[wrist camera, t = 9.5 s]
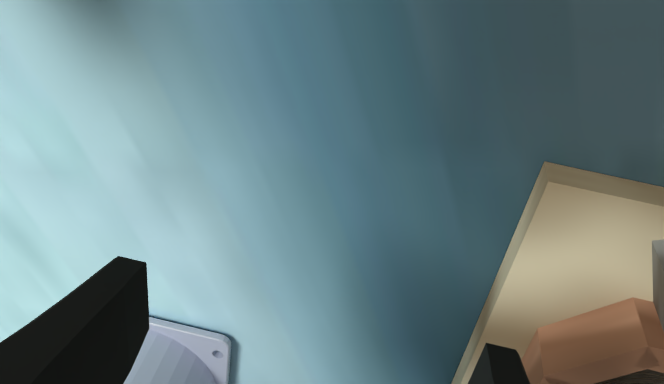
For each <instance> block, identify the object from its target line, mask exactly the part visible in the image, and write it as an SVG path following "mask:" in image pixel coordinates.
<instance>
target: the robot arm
mask: <svg viewBox="0 0 664 384" xmlns="http://www.w3.org/2000/svg"><path fill="white" fill-rule="evenodd" d="M230 355H231V341H230V340H229V338H228V337H226V336H225V335H222V334H219V333H214V332H210V331H206V330H202V329H198V328H194V327H190V326H185V325H181V324H177V323H173V322H169V321H165V320H160V319H156V318H152V317H149V308H148V288H147V268H146V262H141V261H137V260H133V259H129V258H124V257H120V256H118V257H116V258H115V259H113V260H112V261H111V262H109V263H108V264H107V265H106V266H104V267H103V268H102V269H100V270H99V271H98V272H97V273H95V274H94V275H93V276H91V277H90V278H89V279H88V280H86V281H85V282H84V283H82V284H81V285H80V286H79V287H77V288H76V289H75V290H73V291H72V292H71V293H69V294H68V295H67V296H66V297H64V298H63V299H62V300H60V301H59V302H57V303H56V304H55V305H53V306H52V307H51V308H49V309H48V310H46V311H45V312H44V313H42V314H41V315H40V316H38V317H37V318H36V319H34V320H33V321H31V322H30V323H29V324H27V325H26V326H24V327H23V328H21V329H20V330H18V331H17V332H15V333H14V334H12V335H11V336H9V337H8V338H6V339H5V340H3V341H2V342H0V384H228V383H229V369H230ZM468 384H530V382H529V379H528V377H527V374H526V371H525V369H524V366H523V363H522V361H521V358H520V355H519V354H518V352H517V351H516V350H515V349H511V348H507V347H503V346H498V345H494V344H490V343H486V344H485V346H484V348H483V350H482V353H481V355H480V357H479V359H478V362H477V364H476V366H475V368H474V371H473V373H472V375H471V377H470V380H469V382H468Z"/></svg>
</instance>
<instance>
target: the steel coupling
mask: <svg viewBox="0 0 664 384" xmlns="http://www.w3.org/2000/svg"><path fill="white" fill-rule="evenodd" d="M594 384H664V373H662V372H657V371H653V370H649V369H646V370H642V371H638V372H635V373H631V374H627V375H624V376H620V377H616V378H613V379H609V380H605V381H601V382H598V383H594Z"/></svg>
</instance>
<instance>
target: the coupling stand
mask: <svg viewBox="0 0 664 384" xmlns="http://www.w3.org/2000/svg"><path fill="white" fill-rule="evenodd" d="M486 343H490V344H494V345H498V346H503V347H507V348H511V349H515V350H516V351H517V352H518V354H519V355H520V358H521V361H522V363H523V366H524V369H525V371H526V374H527V377H528V379H529V382H530V384H594V383H598V382H601V381H605V380H609V379H613V378H616V377H620V376H624V375H627V374H631V373H635V372H638V371H642V370H646V369H649V370H653V371H657V372H662V373H664V187H660V186H655V185H651V184H646V183H642V182H637V181H632V180H628V179H623V178H618V177H614V176H609V175H605V174H600V173H595V172H591V171H586V170H581V169H577V168H572V167H567V166H563V165H558V164H554V163H549V162H544V164H543V166H542V168H541V171H540V173H539V176H538V178H537V180H536V183H535V185H534V188H533V190H532V192H531V195H530V197H529V199H528V202H527V204H526V207H525V209H524V211H523V214H522V216H521V219H520V221H519V223H518V226H517V228H516V230H515V233H514V235H513V238H512V240H511V242H510V245H509V247H508V250H507V252H506V254H505V257H504V259H503V262H502V264H501V266H500V269H499V271H498V273H497V276H496V278H495V281H494V283H493V285H492V288H491V290H490V293H489V295H488V297H487V300H486V302H485V304H484V307H483V309H482V312H481V314H480V316H479V319H478V321H477V324H476V326H475V328H474V331H473V333H472V335H471V338H470V340H469V343H468V345H467V347H466V350H465V352H464V355H463V357H462V359H461V362H460V364H459V366H458V369H457V371H456V374H455V376H454V378H453V381H452V383H451V384H468V382H469V380H470V377H471V375H472V373H473V371H474V368H475V366H476V364H477V362H478V359H479V357H480V355H481V353H482V350H483V348H484V346H485V344H486Z"/></svg>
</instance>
